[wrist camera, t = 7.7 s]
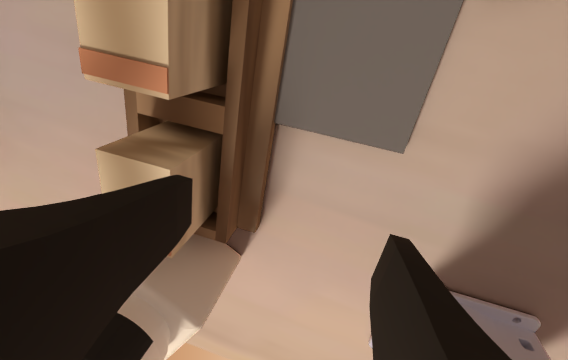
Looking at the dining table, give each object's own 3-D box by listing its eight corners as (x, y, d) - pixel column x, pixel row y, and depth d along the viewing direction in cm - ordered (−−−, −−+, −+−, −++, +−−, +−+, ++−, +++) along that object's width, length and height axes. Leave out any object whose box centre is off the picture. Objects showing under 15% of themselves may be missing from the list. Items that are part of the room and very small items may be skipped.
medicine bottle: (143, 249, 27) (1, 382, 16) (175, 201, 23) (21, 331, 13) (204, 294, 27) (105, 451, 17) (243, 255, 24) (151, 420, 13)
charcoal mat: (472, -30, 13) (476, -32, 13) (402, 151, 17) (403, 153, 17) (303, -54, 14) (302, -58, 14) (275, 120, 18) (273, 122, 18)
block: (224, 134, 18) (168, 170, 13) (219, 204, 21) (170, 259, 16) (168, 120, 19) (93, 149, 14) (170, 190, 22) (106, 239, 16)
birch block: (237, -29, 14) (165, -72, 9) (228, 82, 17) (167, 100, 12) (166, -42, 15) (58, -89, 10) (167, 68, 18) (83, 79, 12)
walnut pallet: (303, -50, 14) (289, -71, 12) (259, 225, 22) (245, 249, 20) (127, -76, 16) (79, -100, 13) (144, 191, 24) (117, 210, 21)
